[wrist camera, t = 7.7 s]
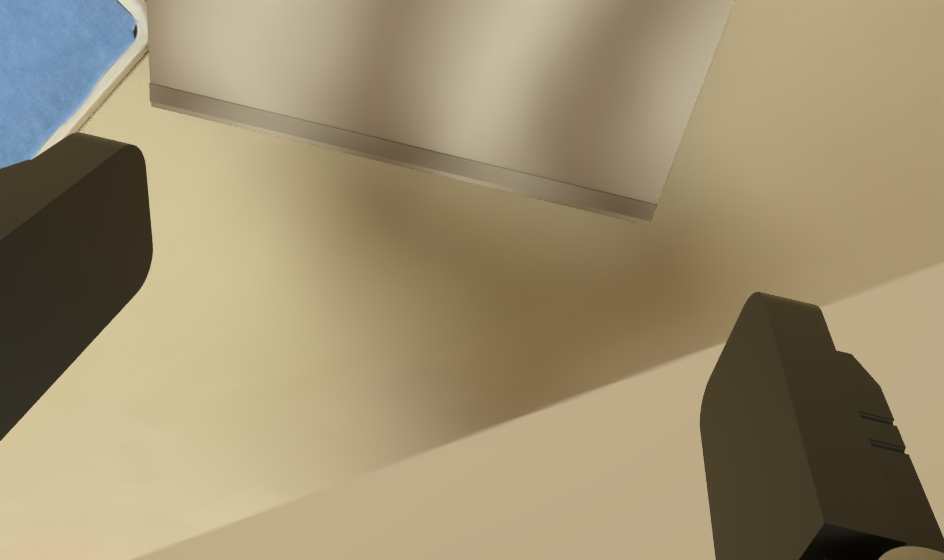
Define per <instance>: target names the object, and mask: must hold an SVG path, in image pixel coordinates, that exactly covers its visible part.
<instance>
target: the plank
mask: <svg viewBox="0 0 944 560" xmlns="http://www.w3.org/2000/svg"><path fill="white" fill-rule="evenodd" d="M734 2H735V0H146V7H147V27H148V46H149V66H150V84H149V88H150V101H151V105H152V107H156V108H160V109H165V110H169V111H173V112H177V113H181V114H185V115H190V116H194V117H198V118H202V119H206V120H210V121H215V122H219V123H223V124H227V125H231V126H235V127H240V128H244V129H248V130H252V131H256V132H260V133H265V134H269V135H273V136H277V137H281V138H285V139H290V140H294V141H298V142H302V143H306V144H310V145H315V146H319V147H323V148H327V149H331V150H335V151H340V152H344V153H348V154H352V155H356V156H360V157H365V158H369V159H373V160H377V161H381V162H385V163H390V164H394V165H398V166H402V167H406V168H410V169H415V170H419V171H423V172H427V173H431V174H435V175H440V176H444V177H448V178H452V179H456V180H460V181H465V182H469V183H473V184H477V185H481V186H485V187H490V188H494V189H498V190H502V191H506V192H510V193H515V194H519V195H523V196H527V197H531V198H535V199H540V200H544V201H548V202H552V203H556V204H560V205H565V206H569V207H573V208H577V209H581V210H585V211H590V212H594V213H598V214H602V215H606V216H611V217H615V218H619V219H623V220H627V221H631V222H636V223H640V224H644V225H648V226H649V223H650V221H651V219H652V217H653V214H654V211H655V209H656V206H657V202H658V200H659V197H660V194H661V192H662V189H663V187H664V184H665V181H666V179H667V176H668V174H669V171H670V168H671V166H672V163H673V160H674V158H675V155H676V153H677V150H678V147H679V145H680V142H681V140H682V137H683V134H684V132H685V129H686V127H687V124H688V121H689V119H690V116H691V114H692V111H693V108H694V106H695V103H696V101H697V98H698V95H699V93H700V90H701V88H702V85H703V82H704V80H705V77H706V75H707V72H708V69H709V67H710V64H711V61H712V59H713V56H714V54H715V51H716V48H717V46H718V43H719V41H720V38H721V35H722V33H723V30H724V28H725V25H726V22H727V20H728V17H729V15H730V12H731V9H732V7H733V4H734Z"/></svg>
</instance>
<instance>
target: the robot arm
mask: <svg viewBox="0 0 944 560" xmlns="http://www.w3.org/2000/svg"><path fill="white" fill-rule="evenodd" d="M152 254H153V243H152V232H151V220H150V209H149V197H148V186H147V175H146V165H145V160H144V156H143V154H142V152H141V150H140V149H139V148H138V147H137V146H134V145H131V144H127V143H123V142H118V141H114V140H110V139H106V138H101V137H97V136H93V135H88V134H84V133H77V132H76V133H72V134H70V135H68V136H66V137H65V138H63V139H62V140H60V141H59V142H57V143H56V144H54V145H53V146H51V147H50V148H48V149H47V150H45V151H44V152H42V153H41V154H39V155H38V156H36V157H35V158H33V159H32V160H26V161H22V162H19V163H16V164H13V165H10V166H7V167H4V168H1V169H0V441H1V440H2V439H3V438H4V437H5V435H6V434H7V433H8V432H9V431H10V430H11V429H12V428H13V427H14V426H15V425H16V424H17V422H18V421H19V420H20V419H21V418H22V417H23V416H24V415H25V414H26V413H27V412H28V410H29V409H30V408H31V407H32V406H33V405H34V404H35V403H36V402H37V401H38V400H39V399H40V397H41V396H42V395H43V394H44V393H45V392H46V391H47V390H48V389H49V388H50V387H51V386H52V384H53V383H54V382H55V381H56V380H57V379H58V378H59V377H60V376H61V375H62V374H63V373H64V371H65V370H66V369H67V368H68V367H69V366H70V365H71V364H72V363H73V362H74V361H75V360H76V358H77V357H78V356H79V355H80V354H81V353H82V352H83V351H84V350H85V349H86V348H87V346H88V345H89V344H90V343H91V342H92V341H93V340H94V339H95V338H96V337H97V336H98V335H99V333H100V332H101V331H102V330H103V329H104V328H105V327H106V326H107V325H108V324H109V323H110V322H111V320H112V319H113V318H114V317H115V316H116V315H117V314H118V313H119V312H120V311H121V310H122V309H123V307H124V306H125V305H126V304H127V303H128V302H129V301H130V300H131V299H132V298H133V297H134V296H135V294H136V293H137V292H138V291H139V290H140V288H141V287H142V285H143V283H144V282H145V280H146V277H147V275H148V272H149V269H150V265H151V261H152ZM893 421H894V418H893V416H892V414H891V411H890V409H889V406H888V404H887V402H886V399H885V397H884V394H883V392H882V390H881V387H880V386H879V385H878V383H877V382H876V381H875V380H874V379H873V378H872V377H871V376H870V375H869V373H868V372H867V371H866V370H865V369H864V368H863V367H862V365H861V364H860V363H859V362H858V361H857V360H856V359H855V358H854V356H853V355H852V354H848V353H844V352H840V351H836V349H835V346H834V344H833V341H832V338H831V335H830V333H829V330H828V327H827V325H826V322H825V319H824V317H823V314H822V311H821V309H820V308H819V307H818V306H816V305H813V304H809V303H804V302H800V301H796V300H791V299H787V298H783V297H778V296H774V295H770V294H766V293H761V292H755V293H753V294H752V295H751V296H750V297H749V299H748V300H747V302H746V303H745V305H744V307H743V309H742V311H741V313H740V315H739V317H738V319H737V322H736V324H735V326H734V328H733V330H732V332H731V334H730V336H729V338H728V341H727V343H726V345H725V347H724V349H723V351H722V353H721V355H720V357H719V360H718V362H717V364H716V366H715V368H714V370H713V372H712V374H711V377H710V379H709V381H708V383H707V386H706V389H705V393H704V396H703V401H702V406H701V413H700V431H701V439H702V447H703V456H704V465H705V472H706V481H707V490H708V498H709V506H710V514H711V522H712V531H713V540H714V548H715V557H716V560H944V538H943V536H942V533H941V531H940V528H939V526H938V523H937V521H936V519H935V517H934V514H933V511H932V509H931V507H930V504H929V502H928V500H927V497H926V495H925V492H924V490H923V488H922V485H921V483H920V480H919V478H918V476H917V473H916V471H915V468H914V466H913V464H912V461H911V459H910V457H909V455H908V454H905V453H904V451H905V445H904V442H903V440H902V438H901V435H900V433H899V430H898V428H897V426H894V425H893Z"/></svg>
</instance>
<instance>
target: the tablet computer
mask: <svg viewBox="0 0 944 560" xmlns="http://www.w3.org/2000/svg"><path fill="white" fill-rule="evenodd" d="M148 50H149V46H148V27H147V7H146V2H145V1H144V0H0V169H1V168H4V167H7V166H10V165H13V164H16V163H19V162H22V161H26V160H32V159H33V158H35V157H36V156H38V155H39V154H41V153H42V152H44V151H45V150H47V149H48V148H50V147H51V146H53V145H54V144H56V143H57V142H59V141H60V140H62V139H63V138H65V137H66V136H68V135H70V134H72V133H76V132H77V131H78V130H79V128H80V127H81V126H82V125H83V124H84V123H85V122H86V120H87V119H88V118H89V117H90V116H91V115H92V114H93V112H94V111H95V110H96V109H97V108H98V107H99V106H100V105H101V103H102V102H103V101H104V100H105V99H106V98H107V97H108V95H109V94H110V93H111V92H112V91H113V90H114V89H115V87H116V86H117V85H118V84H119V83H120V82H121V81H122V79H123V78H124V77H125V76H126V75H127V74H128V72H129V71H130V70H131V69H132V68H133V67H134V66H135V65H136V63H137V62H138V61H139V60H140V59H141V58H142V57H143V56H144V55H145V53H146V52H147V51H148Z"/></svg>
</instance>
